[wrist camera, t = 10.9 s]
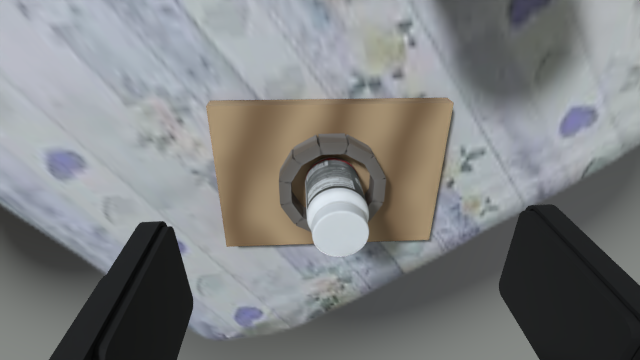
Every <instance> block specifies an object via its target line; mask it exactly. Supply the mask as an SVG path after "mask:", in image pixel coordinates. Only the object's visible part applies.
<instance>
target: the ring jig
mask: <svg viewBox="0 0 640 360" xmlns="http://www.w3.org/2000/svg"><path fill="white" fill-rule="evenodd" d="M453 104H454V103H453V102H452V101H451V100H449V99H448V98H386V99H306V100H226V101H209V103H208V104H207V106H206V108H207V115H208V122H209V129H210V136H211V142H212V149H213V156H214V163H215V170H216V177H217V184H218V190H219V197H220V204H221V211H222V218H223V225H224V231H225V238H226V245H227V247H229V246H259V245H288V244H314V242H313V238H312V232H311V230H310V228H309V226H308V223H307V214H306V189H305V178H306V174H307V172H308V170H309V169H310V167H311V166H312V165H313V164H314V163H316V162H317V161H319V160H321V159H323V158H327V157H337V158H341V159H344V160H346V161H348V162H349V163H350V164H351V165H352V166H353V167H354V168H355V170H356V172H357V174H358V177H359V181H360V184H361V187H362V190H363V193H364V196H365V199H366V202H367V206H368V210H369V219H368V227H369V237H368V240H367V242H378V241H407V240H429V237H430V231H431V226H432V220H433V215H434V209H435V204H436V198H437V192H438V187H439V181H440V176H441V170H442V165H443V159H444V154H445V148H446V143H447V137H448V132H449V126H450V120H451V115H452V109H453Z"/></svg>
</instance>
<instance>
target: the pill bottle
mask: <svg viewBox="0 0 640 360" xmlns="http://www.w3.org/2000/svg"><path fill="white" fill-rule="evenodd" d="M305 189H306V214H307V223H308V226H309V228H310V230H311V232H312V238H313V242H314V244H315V246H316V247H317V249H318V250H320V251H321V252H322V253H324V254H326V255H328V256H333V257H345V256H349V255H352V254H354V253H356V252H358V251H359V250H360V249H361V248H362V247H363V246H364V245H365V244H366V242H367V240H368V237H369V227H368V219H369V210H368V206H367V202H366V199H365V196H364V193H363V190H362V187H361V184H360V181H359V177H358V174H357V172H356V170H355V168H354V167H353V166H352V165H351V164H350V163H349V162H348V161H346V160H344V159H341V158H337V157H327V158H323V159H321V160H319V161H317V162H316V163H314V164H313V165H312V166H311V167H310V169H309V170H308V172H307V174H306V178H305Z"/></svg>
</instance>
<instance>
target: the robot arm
mask: <svg viewBox="0 0 640 360" xmlns="http://www.w3.org/2000/svg"><path fill="white" fill-rule="evenodd" d="M499 291H500V294H501V296H502V298H503V300H504V301H505V303H506V305H507V306H508V308H509V309H510V311H511V313H512V314H513V316H514V318H515V319H516V321H517V323H518V324H519V326H520V328H521V329H522V331H523V333H524V334H525V336H526V338H527V339H528V341H529V343H530V344H531V346H532V348H533V349H534V351H535V353H536V354H537V356H538V358H539V359H540V360H640V285H638V284H637V283H636V282H635V281H634V280H633V279H632V278H631V277H630V276H629V275H628V274H627V273H626V272H625V271H624V270H623V269H622V268H621V267H619V266H618V265H617V264H616V263H615V262H614V261H613V260H612V259H611V258H610V257H609V256H608V255H607V254H606V253H605V252H603V251H602V250H601V249H600V248H599V247H598V246H597V245H596V244H595V243H594V242H593V241H592V240H591V239H590V238H589V237H588V236H587V235H586V234H585V233H584V232H582V231H581V230H580V229H579V228H578V227H577V226H576V225H575V224H574V223H573V222H572V221H571V220H570V219H569V218H568V217H566V215H565V214H563V213H562V212H561V211H560V210H559V209H558V208H557V207H556V206H554V205H531V206H528V207H527V208H526V210H525V211H522V212H521V213H520V215H519V218H518V222H517V225H516V228H515V232H514V235H513V239H512V241H511V245H510V248H509V251H508V255H507V259H506V262H505V265H504V268H503V271H502V275H501V278H500V282H499ZM192 310H193V296H192V293H191V289H190V286H189V282H188V279H187V275H186V271H185V268H184V264H183V261H182V257H181V253H180V250H179V246H178V243H177V239H176V236H175V232H174V229H173V228H172V227H171V226H170V227H167V225H166V223H165V222H163V221H159V222H142V223H140V224H139V225H138V226H137V228H136V229H135V231H134V232H133V234H132V235H131V237H130V239H129V240H128V242H127V243H126V245H125V246H124V248H123V249H122V251H121V253H120V254H119V256H118V257H117V259H116V260H115V262H114V264H113V265H112V267H111V268H110V270H109V271H108V273H107V275H105V276H104V277H103V278H102V279H101V280H100V281H99V283H98V285H97V286H96V288H95V289H94V291H93V292H92V294H91V296H90V297H89V298H88V300H87V302H86V303H85V305H84V306H83V308H82V309H81V311H80V312H79V314H78V316H77V317H76V319H75V320H74V322H73V323H72V325H71V326H70V328H69V329H68V331H67V333H66V334H65V336H64V337H63V339H62V340H61V342H60V343H59V345H58V347H57V348H56V350H55V351H54V353H53V354H52V356H51V357H50V359H49V360H177V357H178V354H179V350H180V347H181V344H182V341H183V338H184V335H185V332H186V329H187V326H188V323H189V320H190V316H191V313H192Z"/></svg>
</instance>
